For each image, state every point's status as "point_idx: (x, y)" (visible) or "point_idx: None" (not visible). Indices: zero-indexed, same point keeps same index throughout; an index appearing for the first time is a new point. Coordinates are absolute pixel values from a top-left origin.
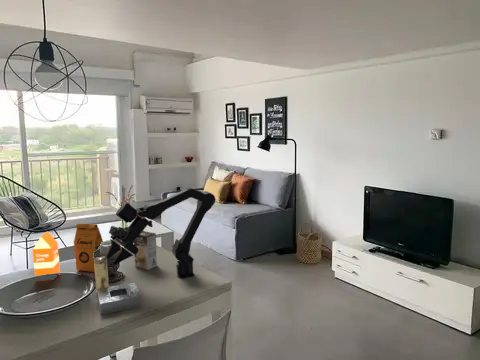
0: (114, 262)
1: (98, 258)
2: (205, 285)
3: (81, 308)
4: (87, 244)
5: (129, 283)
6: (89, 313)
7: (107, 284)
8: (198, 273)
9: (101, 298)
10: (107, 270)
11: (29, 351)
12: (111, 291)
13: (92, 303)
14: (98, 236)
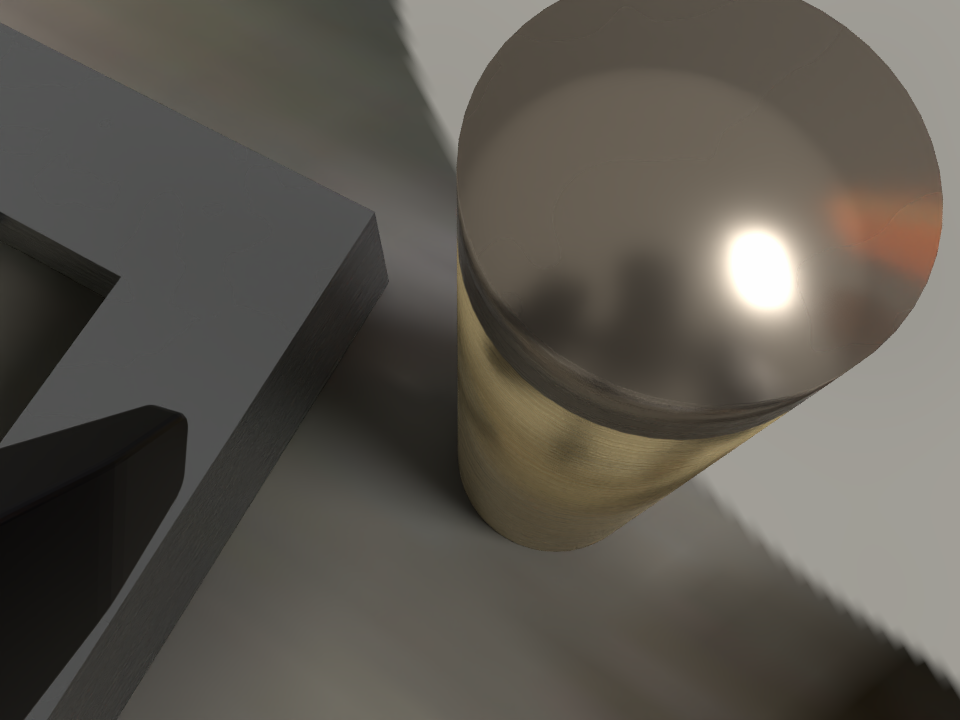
0: (106, 425)
1: (746, 126)
2: None
3: (323, 28)
4: None
5: (48, 716)
6: (121, 15)
7: (468, 466)
8: None
9: (2, 60)
10: (501, 445)
11: None
12: (107, 310)
13: (330, 167)
14: None
